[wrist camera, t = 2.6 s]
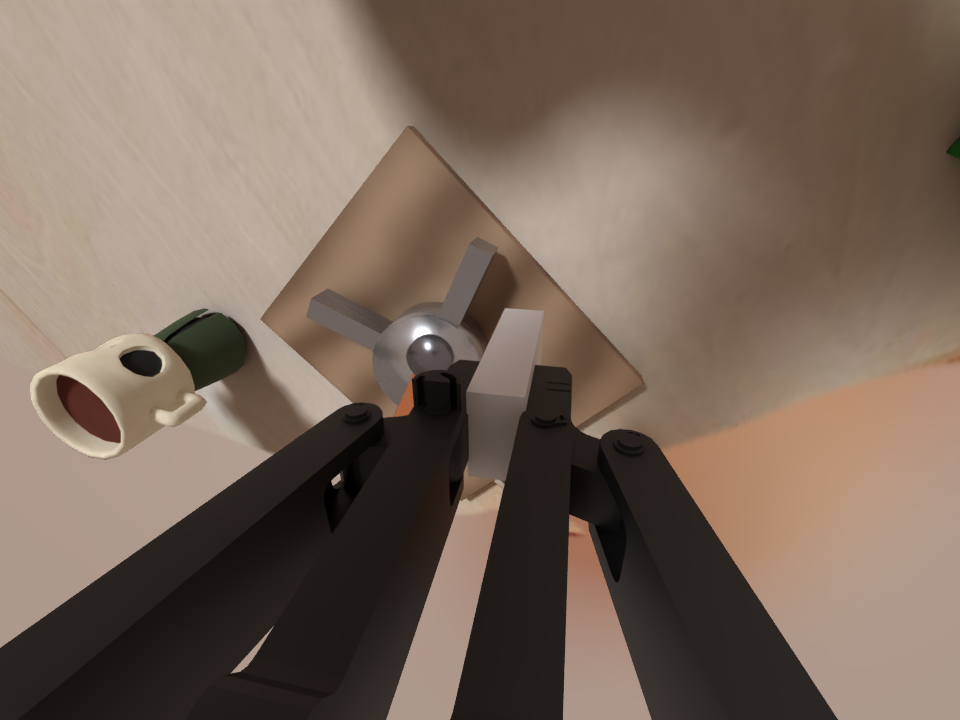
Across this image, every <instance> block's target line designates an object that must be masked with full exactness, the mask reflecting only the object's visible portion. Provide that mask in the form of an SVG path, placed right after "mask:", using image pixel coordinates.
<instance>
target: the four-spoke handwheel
mask: <svg viewBox="0 0 960 720" xmlns="http://www.w3.org/2000/svg"><path fill="white" fill-rule="evenodd" d="M497 250H498V247H496V246H494V245H492V244H490V243H488V242H486V241H485V240H483V239H481V238H479V237H477V238H475V239H474V240H473V241H472V242H471V243H470V244H469V246H468V248H467V250H466V253H465V255H464V257H463V259H462V262H461V264H460V266H459V269H458V271H457V273H456V275H455V278H454V280H453V282H452V284H451V287H450V289H449V291H448V293H447V296H446V298H445V300H444V303H441V302H425V303H420V304H417V305H415V306H412V307H410V308H409V309H407V310H406V311H405V312H403V313H402V314H401V315H400V316H399V317H398V318H397V319H396V320H395V321H394V322H393V321H391V320H389V319H387V318H385V317H383V316H381V315H379V314H377V313H375V312H373V311H371V310H369V309H367V308H365V307H363V306H361V305H359V304H358V303H356V302H354V301H352V300H350V299H348V298H346V297H344V296H342V295H340V294H338V293H336V292H334V291H332V290H330V289H326V290H325V291H323V292H321V293H319V294H318V295H316V296H314V297H312V298H311V300H310V304H309V308H308V312H307V315H306V317H307V318H309V319H311V320H313V321H315V322H317V323H319V324H321V325H323V326H325V327H327V328H329V329H331V330H333V331H335V332H337V333H339V334H341V335H343V336H345V337H347V338H348V339H350V340H352V341H354V342H356V343H358V344H360V345H362V346H364V347H366V348H368V349H370V350H372V351H373V356H372V364H373V370H374V374H375V377H376V379H377V382H378V384H379V386H380V387H381V389H382V390H383V392H384V393H385V394H386V395H387V396H388V398H389V399H390V400H392V401H393V402H394V403H395V404H396V405H398V407H397V409H396V411H395V414H394V416H393V417H398V416H405V415H409V413H410V411H411V410H412V408H413V407H414V401H413V389H412V378H414V377H415V376H416V375H417V374H420V373H422V372H425V371H430V370H446V371H447V370H448V368H449V366H450V365H452V364H453V363H455V362H457V361H458V360H471V361H481V359H482V357H483V354H484V352H485V350H486V348H487V346H488V344H487V341H486V338H485V336H484V333H483V331H482V330H481V328H480V327H479V325H478V324H477V323H476V322H475V320H474V319H472V318H471V317H470V316H469V315H468V314H467V313H468V311H469V309H470V307H471V305H472V303H473V300H474V298H475V296H476V294H477V292H478V290H479V288H480V286H481V284H482V282H483V280H484V277H485V275H486V273H487V271H488V269H489V267H490V265H491V263H492V261H493V259H494V257H495V254H496V252H497Z"/></svg>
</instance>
